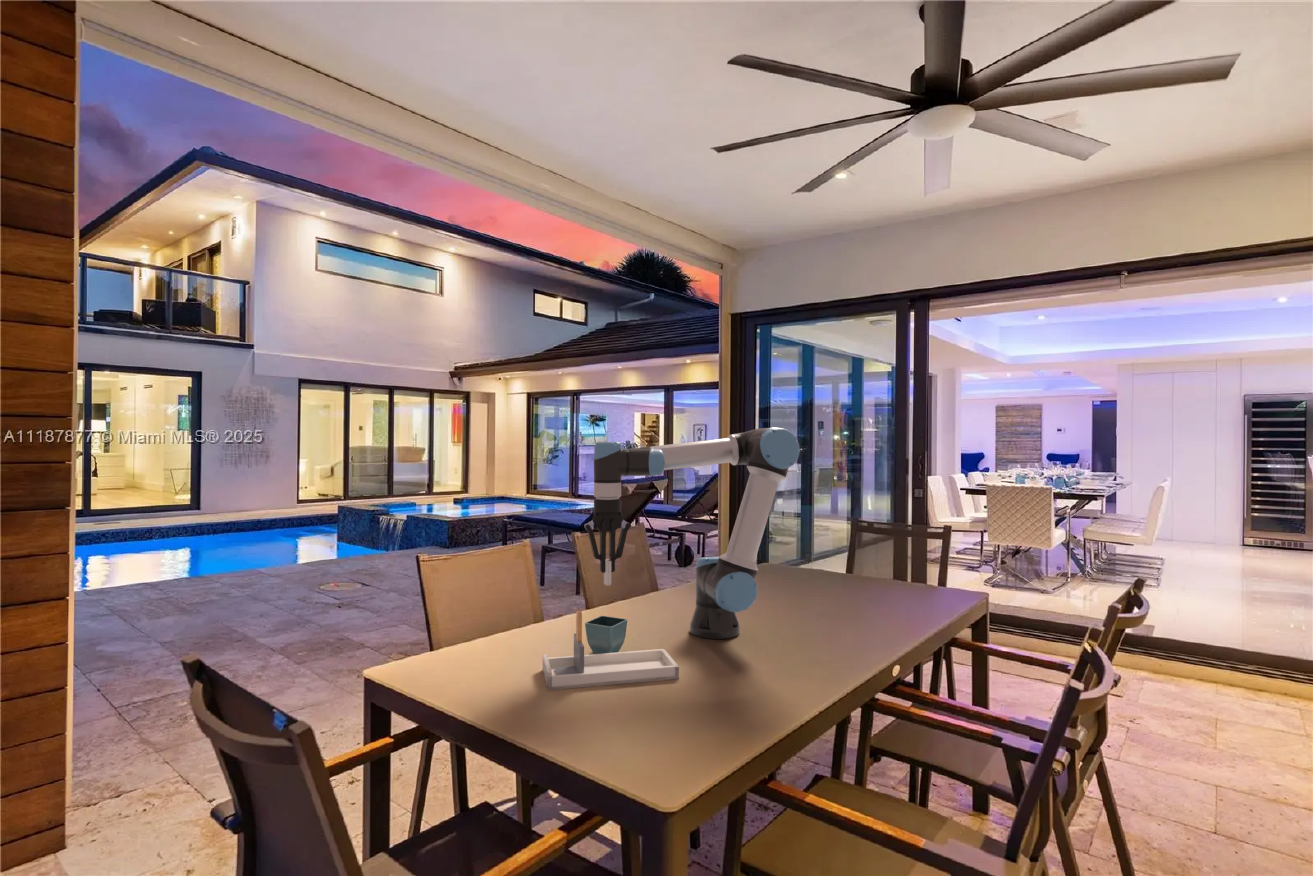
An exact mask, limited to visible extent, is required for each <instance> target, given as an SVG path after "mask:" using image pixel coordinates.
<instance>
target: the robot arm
mask: <svg viewBox="0 0 1313 876" xmlns="http://www.w3.org/2000/svg"><path fill="white" fill-rule="evenodd" d="M800 451H801V450H800V443H799V440H798V439H797V437H796V436H795V434H794V433H793V432H792V431H790V430H789V429H786V428H783V427H777V426H774V427H773V426H772V427H765V428H764V427H763V428H756V429H752V430H748V431H744V432H739V433H733V434H729V435H728V436H726V438H718V439H708V440H706V439H705V440H698V441H689V442H681V443H672V444H671V443H670V444H663V445H661V444H660V445H652V446H644V447H630V448H623V447H622V443H621V442H620V441H597V442H596V443H595V444H594V450H593V459H592V460H593V497H594V500H593V515H592V517H591V521H588V522H587V523H584V524H583V526H584V528H585V530H586V531H587V535H588V538H589V539H588V540H589V543H590V546H591V547H590V548H591V551H592V552H591V553H592V556H593V557H594V559H596V560H599V570H600V573H603V584H604V586H612V573H615V570H616V560H617V559H620V558H622V556H623V553H624V548H625V544H626V539H627V536H628V535H627V534H628V532H629V529H631V527H632V526H631V525H632V524H631V523H630V522H629V521H626V520H624V517H623V515H622V499H621V496H622V477H654V476H655V477H656V476H662V474H663V473H664V471H667V470H676V469H686V468H692V467H693V468H694V467H701V466H703V467H704V466H712V465H719V464H731V465H732V466H741V465H745V466H746V465H747V466H746V469H747V470H748V472H749V476H748V479H747V483H746V486H745V490H744V492H743V495H742V498H741V499H742V500H741V502H740V505H739V510H738V512H737V515H736V516H737V517H736V519H735V523H734V525H733V529H732V531H731V536H730V538H729V542H728V544H727V548H726V552H724V553H723V554H721V555H719V556H705V557H699V558H697V560H696V565H695V608H694V612H693V615H692V618H691V621H690V625H689V626H690V627H689V632H690V633H691V635H693V636H695V637H698V638H701V639H710V640H711V639H712V640H725V639H731V638H735V637H737V636H738V635H740V630H741V629H740V623H739V620H738V616H737V613H741V612H744V611H746V610H748V609H749V608H750V607H751V606H753V604H754V603H755V601H756V599H757V598H758V597H757V596H758V594H759V593H758V592H759V590H758V588H759V587H758V584H757V582H756V577H757V574H758V571H759V568H758V566H757V564H756V559H757V555H758V552H759V548H760V545H761V542H762V539H763V536H764V532H765V530H766V529H765V528H766V526H767V522H768V518H769V516H770V512H771V509H772V505H773V502H774V499H775V495H776V492H777V490H778V485H779V483H780V482H782V481H784V480H785V479H786V477H787V474H788V472H789V468H790V467H792V466H793V465H794V464H796V462H797V461H798V459H799V456H800ZM594 526H595V527H596V529H597V530H598V532H599V549H598V544H597V542H596V538H595V533H594V528H595V527H594ZM619 527H621V530H620V533H619V538H618V543H617V546H616V534H617V533H616V532H617V530H618V529H619ZM607 533H608V543H609V544H608V557H609V558H608V559H607V557H606V556H607Z"/></svg>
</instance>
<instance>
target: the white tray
mask: <svg viewBox="0 0 1313 876" xmlns="http://www.w3.org/2000/svg"><path fill="white" fill-rule="evenodd" d="M568 666H574V655H567V656H555V657H548V654H547V653H542V673H543V677H544V682H545V685H546V690H547V691H556V690H557V691H558V690H566V689H577V688H589V687H599V686H601V687H602V686H603V687H604V686H611V685H614V686H615V685H622V684H635V683H647V682H657V681H667V680H679V678H680V666H679V665H678V663H677V662H676V661H675V660H674V659H673V657H671V655H670V654H669V653H668V652H667V651H666V649H665V648H659V649H658V648H656V649H644V650H632V651H631V650H630V651H629V650H628V651H619V652H616V653H603V654H594V653H593V654H592V653H590V654H584V673H578V674H566V675H556V672H555V667H568Z"/></svg>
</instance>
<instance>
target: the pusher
mask: <svg viewBox="0 0 1313 876" xmlns="http://www.w3.org/2000/svg"><path fill="white" fill-rule="evenodd" d="M575 616H576V617H575V618H576V619H575V621H576V622H575V623H576V624H575V626H576V627H575V633H573V656H574V666H568V667H555V672H556V675H566V674H578V673H584V655H585V646H584V643H583V641H582V640H583V612H582V610H581V609H580V610H579V609H576V615H575Z"/></svg>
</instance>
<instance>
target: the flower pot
mask: <svg viewBox="0 0 1313 876" xmlns="http://www.w3.org/2000/svg"><path fill="white" fill-rule="evenodd" d="M584 626H585V634H586V640H587V644H588V647H589V648H590V650H591V652H592V653H593V654H603V653H616V652H620V650H621V648H622V646H623V645H624V642H625V639H626V635H627V626H628V619H627V618H622V617H614V616H609V615H608V616H607V615H600V616H597V617H594V618H593V619H591V620H589V621H586V622H585V623H584Z"/></svg>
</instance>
